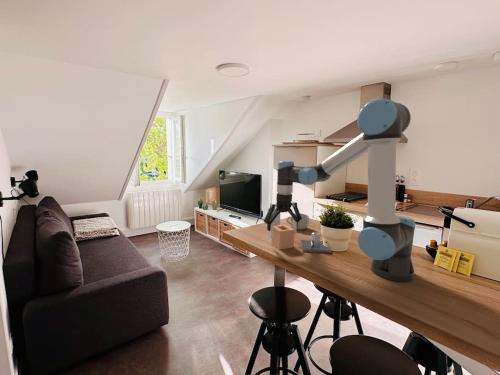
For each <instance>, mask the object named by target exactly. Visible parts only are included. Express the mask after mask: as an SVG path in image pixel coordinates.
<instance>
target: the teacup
mask: <svg viewBox="0 0 500 375" xmlns="http://www.w3.org/2000/svg"><path fill="white" fill-rule="evenodd" d="M293 213H294V214H295V212H293ZM295 215H296V214H295ZM300 215H301V218H302V220H300V221H299V222H298V227H297V229H296V230H300V231H302V230H305V229H306V228H308V226H309V220H310V216H309V215H308V214H305V213H300ZM296 217H297V216H296ZM289 219H290V221H289ZM293 221H295V220H294V219H293V218H292V216H291V215H290V216H286V221H285V222H287V223H288V224H289V225H290V226H291V227H292V223H293Z"/></svg>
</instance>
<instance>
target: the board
mask: <svg viewBox="0 0 500 375" xmlns="http://www.w3.org/2000/svg"><path fill="white" fill-rule="evenodd" d="M321 235H322V234H321V232H313V231H312V232H311V240H308V239H301V240H300V244H301V245H300V246H301V250H302V252H303V253H305V252H306V253H318V254H319V253H322V254H332V250H331V247H330V246H329V247H330V248H329V247H326V246H324V245H323V240H321Z"/></svg>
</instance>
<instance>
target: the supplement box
mask: <svg viewBox="0 0 500 375" xmlns="http://www.w3.org/2000/svg"><path fill="white" fill-rule="evenodd" d="M269 208H270V205H268V207H267V212H268V211H269ZM276 208H277V207H276ZM276 208H274V211H273V213H274V212H275V209H276ZM278 211H279V210H278ZM273 213H272V214H273ZM272 225H273V226H278V225H281V213H280V214H278V216H277V217H276V218H275V220H274V221H273V222H272Z"/></svg>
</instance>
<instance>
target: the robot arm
mask: <svg viewBox="0 0 500 375" xmlns="http://www.w3.org/2000/svg"><path fill="white" fill-rule="evenodd" d="M411 116H412V115H411V112H410V110H409V108H408V107H406V105H404V104H402V103H399V102H396V101H393V100H392V99H389V98H375V99H372V100H370V101H368V102H367V103H365V104H364V105H363V107H361V109H360V110H359V112H358V116H357V119H356V120H357V127H358V129H359V130H360V132H362V133H360V134H359V135H357V136H356V137H355V138H353V139H352V140H351V141H349V142H348V143H346V144H345V145H344V146H342V147H341V148H340V149H337V150H336V151H335V152H334V153H332V154H331V155H329V156H328V157H327V158H325V159H324V160H323V161H321V162H320V163H319V164H317V165H311V166H299V165H298V166H296V165H295V162H294V161H292V160H280V161H278V164H277V178H276V179H277V182H276V199H275V200H276V202H275V203H272V202H271V203H269V206H270V208H269V211H268V210H267V213H266V215H265V217H264V219H263V223H264V224H266V225H267V226H266V229H267V232H268V234H267V236H268V238H271V239H272V230H273V225H272V222H273V221H274V220H275V218H276V217H277V216H278V214H280V215H281V214H283V213H288V214H289V215H290V217H291V216H292V218H293V219H294V220H295V221H293V223H292V226H291V228H292V229H294V236H295V235H297V230H298V229H297V227H298V222H299V221H300V220H302V218H301V215H300V210H299V208H298V203H297V202H296V201H293V192H294V191H293V190H294V188H293V187H294V183H296V184H301V185H305V186H306V185H307V186H312V185H314V184H315V183H319V182H322V183H323V182H325V181H328V180H330V178H331V177H332V176H333V175H334V174H335V173H337V172H338V171H341V169H344V168H345V167H346V166H348V165H350V163H351V164H352V162H355V160H357V159H359V158H360V157H361V156H363V155H365V154H366V153H367V214H366V215H365V216H364V217H363V219H362V230H360V232H359V234H358V235H357V245H358V247H359V248H360V249H359V250H361V251H362V252H363V254H364V255H366V256H367V258H370V259H372V260H371V263H370V270H371V271H372V272H373V274H375V275H377V276H378V277H381V278H383V279H385V280H388V281H389V280H390V281H393V282H411V281H413V279H414V278H415V269H414V268H415V267H414V265H413V259H412V252H413V251H412V250H413V242H414V236H415V229H416V221H415V220H414V219H413V218H412V217H408V216H403V215H398V214H396V194H397V193H396V190H397V189H396V188H397V187H396V186H397V182H396V181H397V180H396V177H397V176H396V175H397V173H396V172H397V166H396V165H397V144H398V143H399V142H401V141H402V133H404V132H405V131H406V130H407V129H408V127H409V126H410V124H411V120H412V118H411ZM276 207H277V208H276ZM274 208H276V209H275V212H274V213H273V211H274ZM292 208H293V209H292ZM278 210H279V211H278ZM293 211H294V212H293ZM272 213H273V214H272ZM294 213H295V214H296V215H295V214H294ZM296 216H297V217H296Z"/></svg>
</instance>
